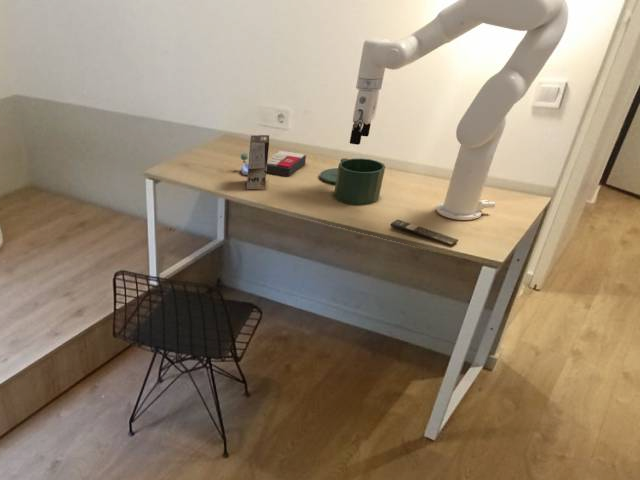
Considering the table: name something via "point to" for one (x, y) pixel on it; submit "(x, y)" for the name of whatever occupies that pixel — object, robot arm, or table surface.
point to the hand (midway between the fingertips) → (359, 139)
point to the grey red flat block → (285, 163)
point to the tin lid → (330, 174)
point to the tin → (359, 181)
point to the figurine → (245, 167)
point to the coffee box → (258, 161)
